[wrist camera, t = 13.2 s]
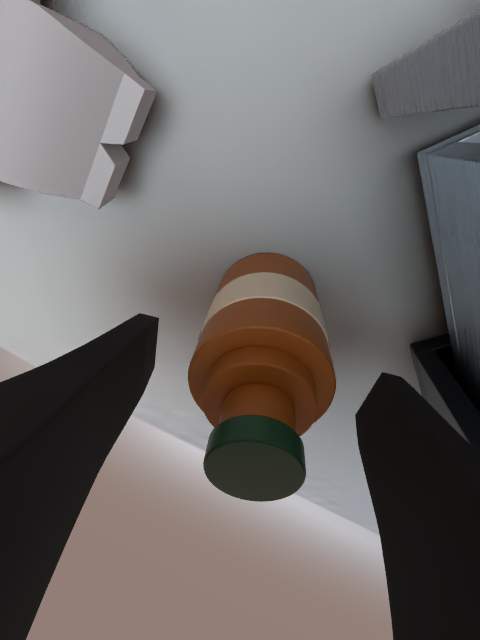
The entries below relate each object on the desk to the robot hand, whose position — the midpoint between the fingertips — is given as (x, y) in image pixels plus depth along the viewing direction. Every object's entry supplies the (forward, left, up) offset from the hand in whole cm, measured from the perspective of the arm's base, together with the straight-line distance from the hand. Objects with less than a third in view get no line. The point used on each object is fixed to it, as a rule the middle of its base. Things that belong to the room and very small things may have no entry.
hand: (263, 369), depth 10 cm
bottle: (0, 0, -5) cm, 5 cm away
